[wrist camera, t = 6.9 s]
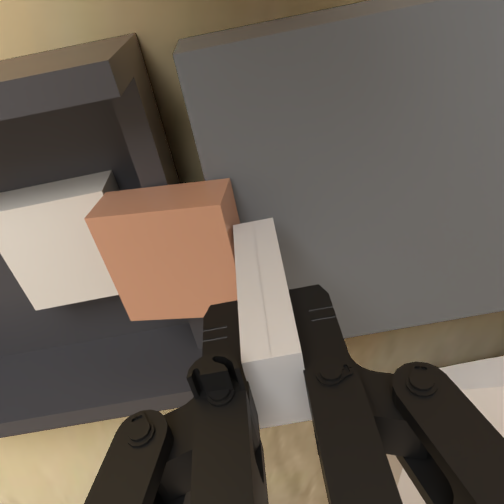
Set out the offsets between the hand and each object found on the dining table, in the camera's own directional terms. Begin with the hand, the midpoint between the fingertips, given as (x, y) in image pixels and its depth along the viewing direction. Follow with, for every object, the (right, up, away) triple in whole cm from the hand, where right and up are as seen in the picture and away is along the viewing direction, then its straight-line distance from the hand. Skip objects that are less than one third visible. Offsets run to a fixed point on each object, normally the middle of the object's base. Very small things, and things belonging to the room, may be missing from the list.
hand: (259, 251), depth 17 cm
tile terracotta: (-3, 0, +1) cm, 3 cm away
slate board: (+7, +4, +3) cm, 9 cm away
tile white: (-8, +1, +3) cm, 9 cm away
